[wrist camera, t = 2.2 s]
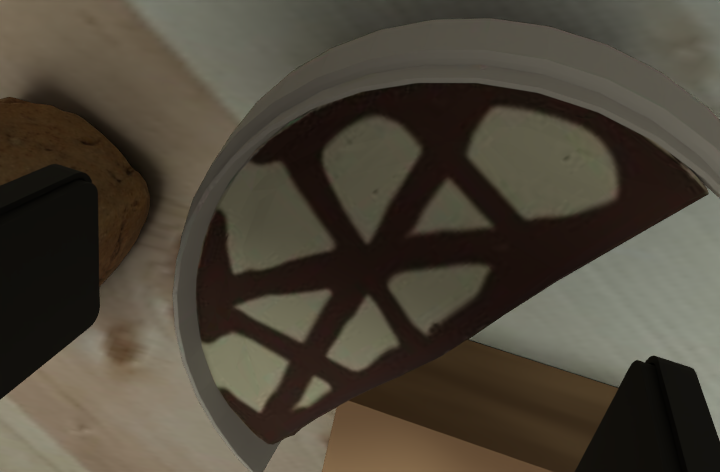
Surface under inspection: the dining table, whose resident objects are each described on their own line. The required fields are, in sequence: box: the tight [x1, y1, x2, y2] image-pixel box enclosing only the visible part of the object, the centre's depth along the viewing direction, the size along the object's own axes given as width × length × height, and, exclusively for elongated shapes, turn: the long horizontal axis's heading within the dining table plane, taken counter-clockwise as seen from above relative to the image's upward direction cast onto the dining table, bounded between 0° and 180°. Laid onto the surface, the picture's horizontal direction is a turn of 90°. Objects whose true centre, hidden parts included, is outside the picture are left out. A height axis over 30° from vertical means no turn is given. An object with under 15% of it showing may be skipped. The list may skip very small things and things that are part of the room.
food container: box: [173, 18, 720, 472], centre depth 15 cm, size 12×6×10 cm, turn 134°
